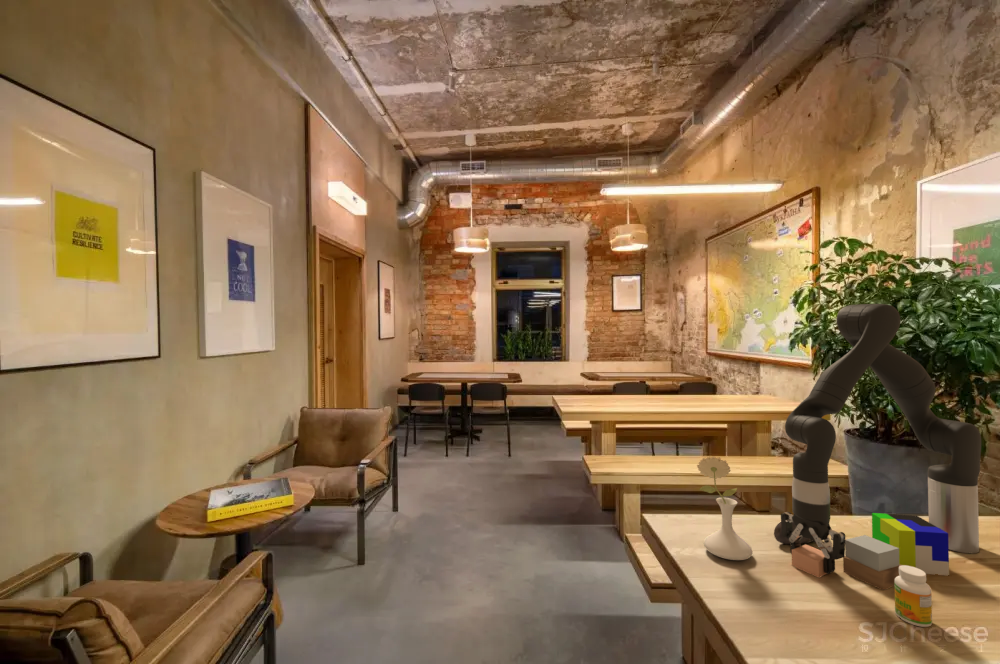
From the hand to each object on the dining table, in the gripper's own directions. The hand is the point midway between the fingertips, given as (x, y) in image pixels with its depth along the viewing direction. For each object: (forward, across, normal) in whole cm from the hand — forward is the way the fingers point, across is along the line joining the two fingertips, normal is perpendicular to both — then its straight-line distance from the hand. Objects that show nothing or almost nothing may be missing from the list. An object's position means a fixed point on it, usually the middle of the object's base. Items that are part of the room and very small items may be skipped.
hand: (812, 564), depth 106 cm
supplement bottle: (+1, -20, +1) cm, 20 cm away
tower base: (+1, -8, -9) cm, 12 cm away
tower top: (-3, -8, -9) cm, 12 cm away
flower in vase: (+1, +14, +13) cm, 19 cm away
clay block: (+1, 0, 0) cm, 1 cm away
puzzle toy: (+1, -8, -24) cm, 25 cm away
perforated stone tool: (+1, +10, -10) cm, 14 cm away
